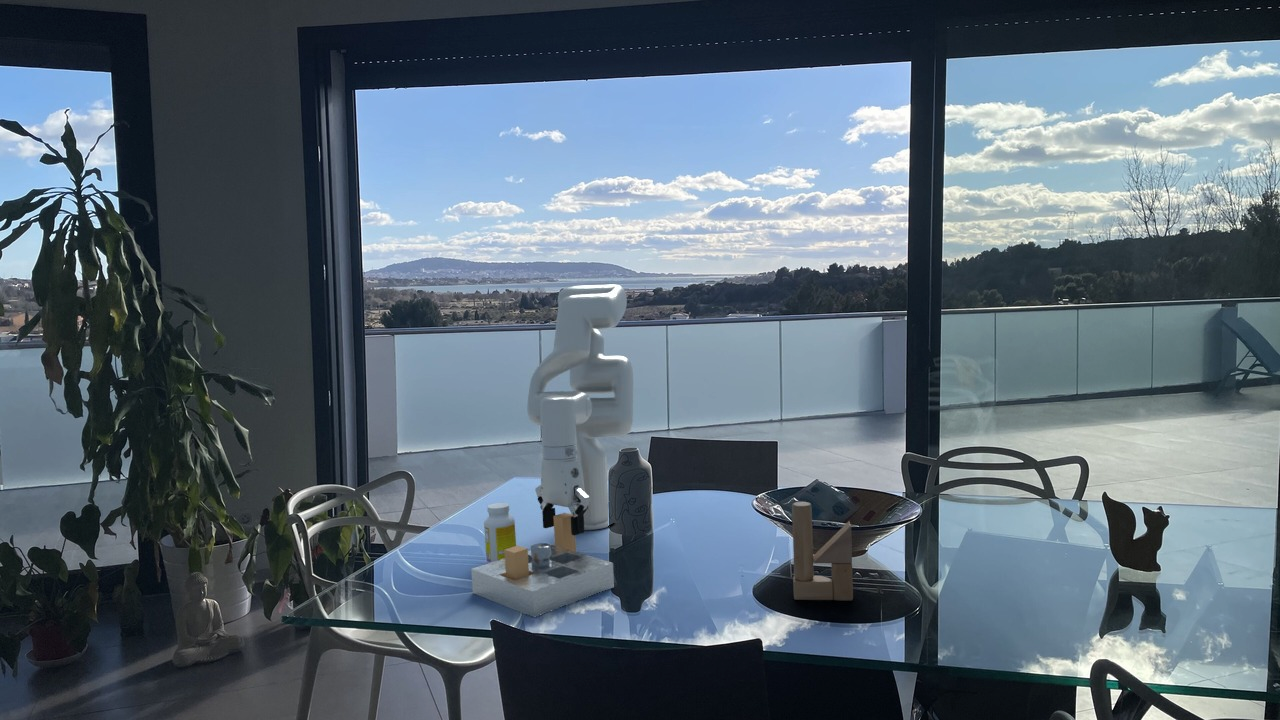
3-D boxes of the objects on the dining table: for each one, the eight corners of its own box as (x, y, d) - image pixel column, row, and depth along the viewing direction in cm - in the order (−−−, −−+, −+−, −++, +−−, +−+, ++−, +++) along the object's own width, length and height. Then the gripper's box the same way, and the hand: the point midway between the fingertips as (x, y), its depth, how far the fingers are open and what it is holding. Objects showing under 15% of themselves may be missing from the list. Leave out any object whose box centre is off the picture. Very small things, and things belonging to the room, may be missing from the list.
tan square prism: (567, 556, 199) (564, 512, 198) (576, 559, 197) (573, 515, 196) (555, 560, 197) (553, 515, 196) (565, 563, 195) (562, 518, 194)
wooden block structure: (853, 601, 165) (850, 506, 163) (794, 600, 167) (791, 506, 165) (851, 594, 169) (849, 500, 167) (793, 593, 170) (790, 501, 169)
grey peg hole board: (551, 566, 193) (548, 525, 192) (614, 587, 178) (611, 543, 177) (472, 593, 179) (469, 549, 178) (534, 617, 164) (531, 570, 164)
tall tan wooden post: (520, 594, 177) (517, 545, 176) (530, 598, 174) (527, 548, 173) (507, 599, 174) (504, 549, 173) (517, 603, 172) (514, 552, 171)
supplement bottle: (523, 559, 199) (519, 502, 197) (506, 568, 193) (502, 510, 191) (497, 556, 201) (494, 500, 200) (480, 565, 195) (476, 508, 194)
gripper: (599, 453, 191) (602, 533, 192) (548, 446, 203) (552, 521, 204) (572, 459, 185) (576, 540, 186) (521, 451, 198) (525, 528, 199)
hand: (563, 530), depth 195 cm, fingers open, 9 cm apart
